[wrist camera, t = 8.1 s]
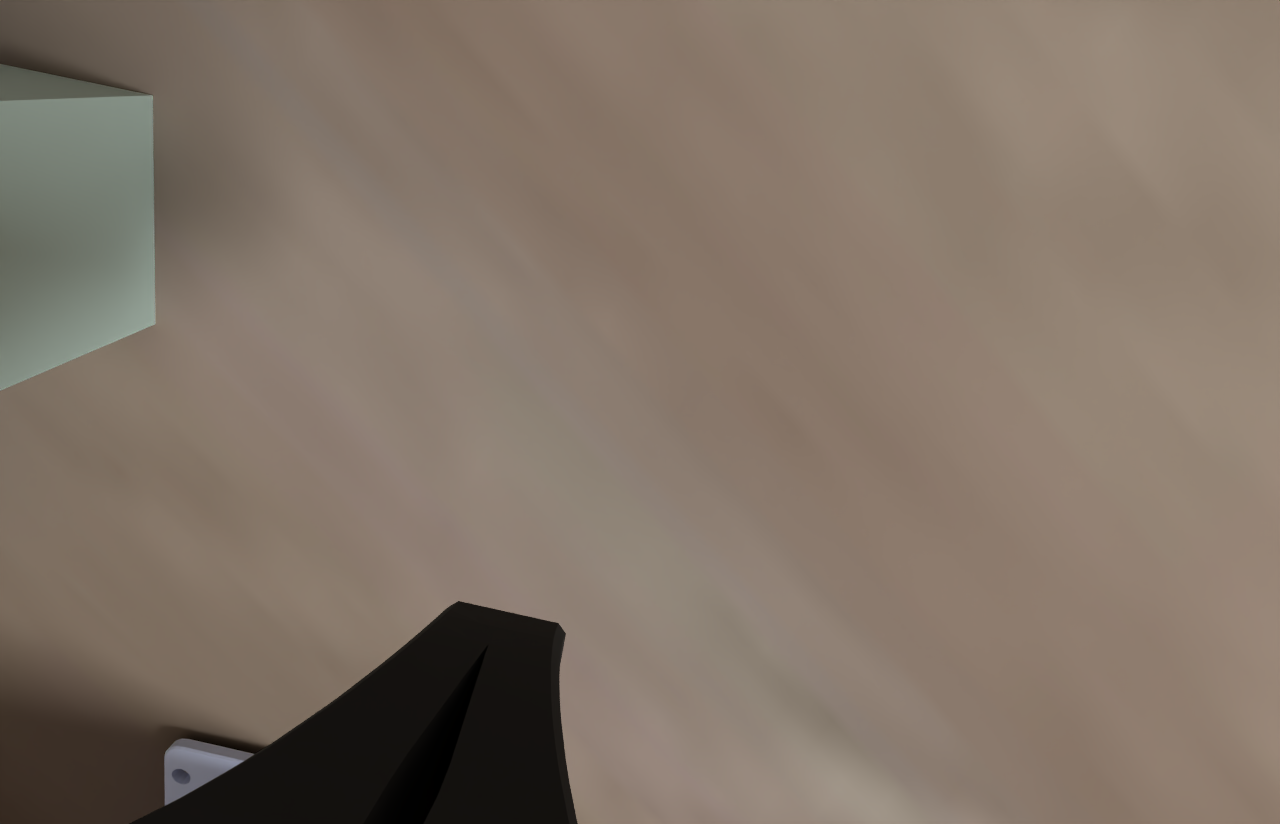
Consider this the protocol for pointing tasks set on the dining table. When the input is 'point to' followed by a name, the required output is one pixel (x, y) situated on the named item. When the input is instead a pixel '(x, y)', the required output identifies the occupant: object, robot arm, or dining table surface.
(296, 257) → the dining table surface
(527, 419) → the dining table surface
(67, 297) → the block
